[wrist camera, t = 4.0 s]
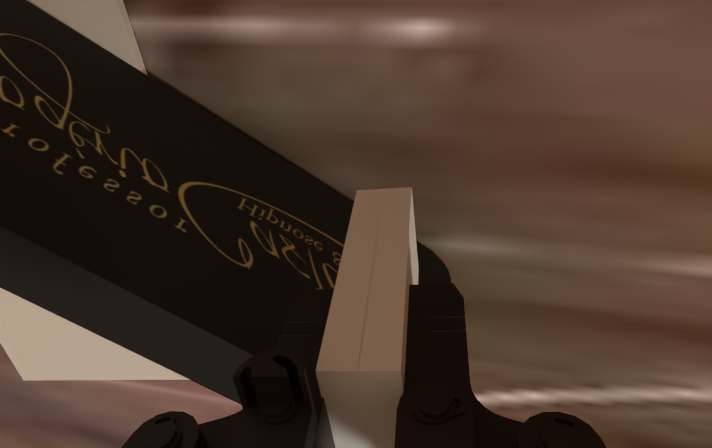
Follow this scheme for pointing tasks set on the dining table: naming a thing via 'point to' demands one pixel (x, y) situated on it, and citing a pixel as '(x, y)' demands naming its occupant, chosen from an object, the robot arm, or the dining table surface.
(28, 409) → the dining table surface
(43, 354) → the beige mat
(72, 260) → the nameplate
